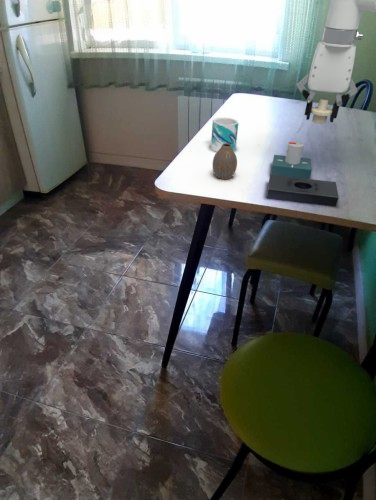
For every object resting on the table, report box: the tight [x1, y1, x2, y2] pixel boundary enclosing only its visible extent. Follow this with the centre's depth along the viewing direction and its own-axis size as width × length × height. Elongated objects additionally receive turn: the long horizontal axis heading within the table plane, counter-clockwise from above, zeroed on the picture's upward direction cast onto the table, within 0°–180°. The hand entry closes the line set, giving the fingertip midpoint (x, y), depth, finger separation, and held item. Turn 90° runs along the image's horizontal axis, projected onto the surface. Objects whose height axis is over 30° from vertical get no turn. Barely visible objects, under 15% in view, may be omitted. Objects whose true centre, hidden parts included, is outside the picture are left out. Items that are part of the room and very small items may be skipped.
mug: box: [210, 116, 239, 153], centre depth 134 cm, size 8×12×8 cm
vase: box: [212, 143, 238, 180], centre depth 115 cm, size 7×7×9 cm
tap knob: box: [285, 141, 305, 165], centre depth 119 cm, size 4×4×5 cm
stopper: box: [311, 97, 332, 125], centre depth 109 cm, size 6×6×5 cm
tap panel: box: [270, 154, 313, 179], centre depth 121 cm, size 11×9×3 cm
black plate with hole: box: [266, 174, 339, 207], centre depth 111 cm, size 18×10×2 cm, turn 79°
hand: (319, 119), depth 110 cm, fingers closed on stopper, 5 cm apart
